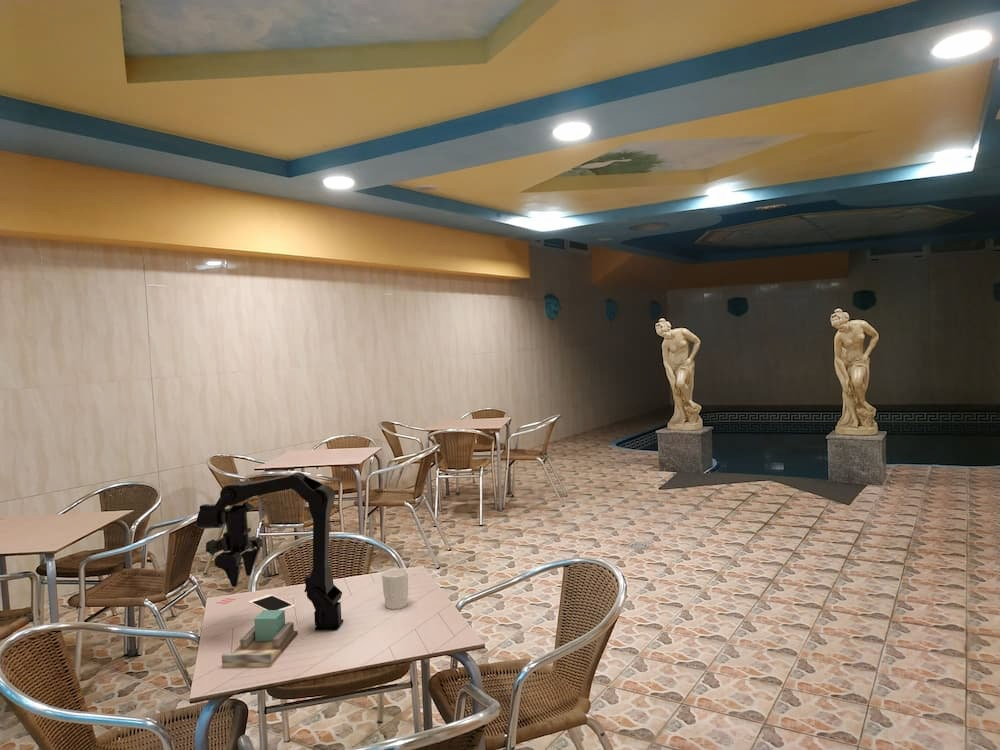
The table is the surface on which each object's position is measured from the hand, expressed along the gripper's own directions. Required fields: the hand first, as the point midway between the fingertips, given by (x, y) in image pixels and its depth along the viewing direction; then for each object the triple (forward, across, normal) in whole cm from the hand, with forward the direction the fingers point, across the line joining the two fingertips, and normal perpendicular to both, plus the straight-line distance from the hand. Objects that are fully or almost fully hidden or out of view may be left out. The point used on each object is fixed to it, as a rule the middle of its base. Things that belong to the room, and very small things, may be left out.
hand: (241, 581), depth 198 cm
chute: (+14, +15, +11) cm, 23 cm away
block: (+13, +9, +11) cm, 19 cm away
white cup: (+15, -15, +40) cm, 45 cm away
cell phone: (+14, -18, 0) cm, 23 cm away
